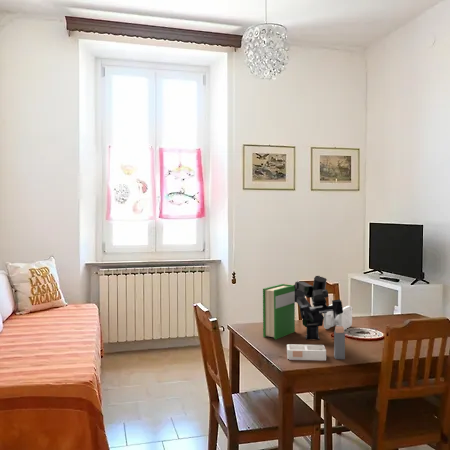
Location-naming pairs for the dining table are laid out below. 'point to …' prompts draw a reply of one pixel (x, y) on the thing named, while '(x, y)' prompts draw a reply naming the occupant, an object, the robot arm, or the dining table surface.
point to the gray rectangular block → (339, 342)
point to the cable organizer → (339, 318)
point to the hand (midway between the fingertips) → (324, 319)
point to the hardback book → (278, 310)
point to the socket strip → (306, 352)
